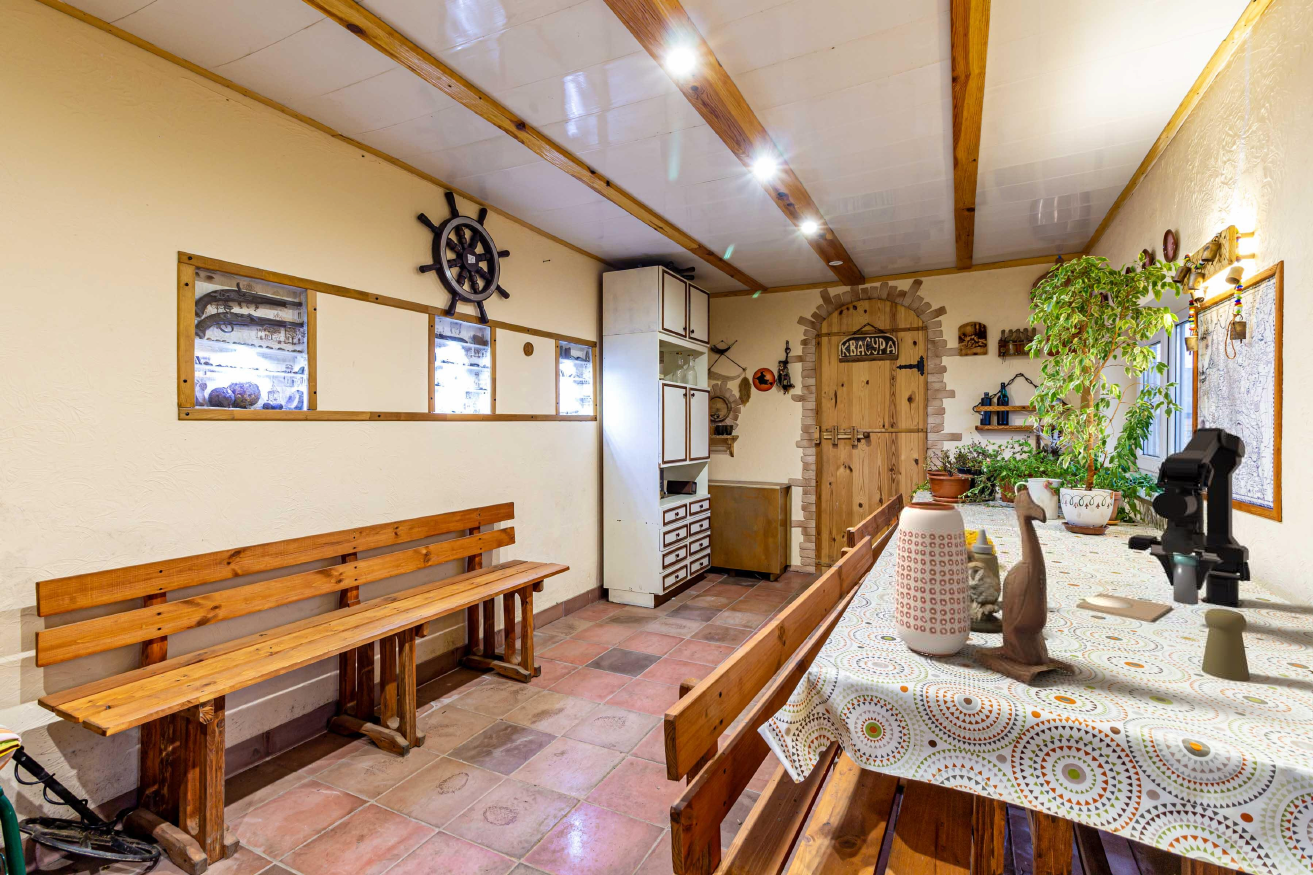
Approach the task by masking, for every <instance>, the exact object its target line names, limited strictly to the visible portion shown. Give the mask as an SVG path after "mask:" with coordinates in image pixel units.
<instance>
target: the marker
mask: <svg viewBox="0 0 1313 875" xmlns="http://www.w3.org/2000/svg"><path fill="white" fill-rule="evenodd" d="M1198 565H1199V557H1198V556H1195V554H1191V555H1182V554H1180V553H1173V586H1172V589H1173V590H1172V592H1173V602H1174V603H1175V602H1176V603H1178V604H1184V605H1193V606H1197V605H1199V590H1197V580H1198Z"/></svg>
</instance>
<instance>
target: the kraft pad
mask: <svg viewBox="0 0 1313 875" xmlns="http://www.w3.org/2000/svg"><path fill="white" fill-rule="evenodd" d="M1075 606H1076V608H1078V609H1083V610H1088V611H1093V612H1097V613H1098V612H1099V613H1104V614H1107V615H1113V616H1118V617H1122V618H1129V619H1134V620H1139V621H1143V622H1144V621H1145V622H1147V623H1152V622H1153V621H1155V620H1157V619H1158V618H1160V617H1162V616H1163V615H1164V614H1166V613H1167V612H1168V611H1170V610H1172V609H1173V605H1168V604H1163V603H1157V602H1152V601H1146V600H1141V599H1136V598H1135V599H1134V598H1129V597H1124V596H1119V595H1113V594H1108V593H1102V592H1100V593H1098V594H1096V595H1093V596H1088V597H1085V600H1083V601H1080V603H1077V604H1076V605H1075Z"/></svg>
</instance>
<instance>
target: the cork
mask: <svg viewBox="0 0 1313 875" xmlns="http://www.w3.org/2000/svg"><path fill="white" fill-rule="evenodd" d="M1204 620H1205V624H1206V625H1207V627H1208V632H1207V638H1206V642H1205V648H1204V654H1203V660H1202V666H1201V671H1202V672H1204V674H1207V675H1209V676H1212V677H1215V678H1217V679H1223V680H1227V681H1234V682H1235V681H1236V682H1248V681H1250V680H1251V677H1250V671H1249V665H1248V659H1247V653H1246V649H1245V643H1244V638H1243V637H1244V636H1243V632H1244V631H1245V630H1246V628H1247V625H1248V624H1247V623H1248V622H1247V619H1246V617H1245V616H1244V615H1243V614H1241V612H1237V611H1235V610H1231V609H1225V608H1210V609H1208V610H1207V611H1206V612H1205V614H1204Z"/></svg>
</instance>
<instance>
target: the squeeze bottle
mask: <svg viewBox="0 0 1313 875" xmlns="http://www.w3.org/2000/svg"><path fill="white" fill-rule="evenodd" d="M971 550H972V551H973V553H974V556H975V559H977V560H979V561H980V562H981V563H983V564H985V565H986V566H987V567H988V569H989V571H990V572H991V573H992V574H993V576H994V577H996V578H997V580H998V581H999V582H1000V584H999V586H1000V594H999V596H998V599H997V601H996V603H995V604H994V605H996V606H997V604H998V602H999V598H1000V597H1001V595H1002V594H1001V593H1002V586H1001V584H1002V583H1001V575H1000V567H999V557H998V556H997V555H996V554H995V553H994V545H993V544H989V541H988V538H987V533H986V529H979V530H978V535H977V539H976V542H975V543H974V542H973V543H972V544H971Z"/></svg>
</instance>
